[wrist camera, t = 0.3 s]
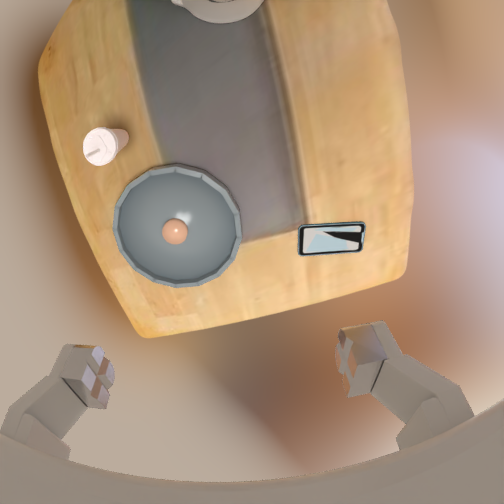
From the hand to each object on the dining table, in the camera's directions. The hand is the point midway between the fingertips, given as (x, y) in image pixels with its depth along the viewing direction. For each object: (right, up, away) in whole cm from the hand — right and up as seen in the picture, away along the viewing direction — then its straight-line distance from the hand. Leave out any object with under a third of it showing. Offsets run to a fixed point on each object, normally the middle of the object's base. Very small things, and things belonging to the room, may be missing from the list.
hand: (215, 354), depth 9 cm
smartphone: (+18, +6, +52) cm, 55 cm away
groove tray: (-14, +8, +48) cm, 51 cm away
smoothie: (-24, +25, +38) cm, 51 cm away
